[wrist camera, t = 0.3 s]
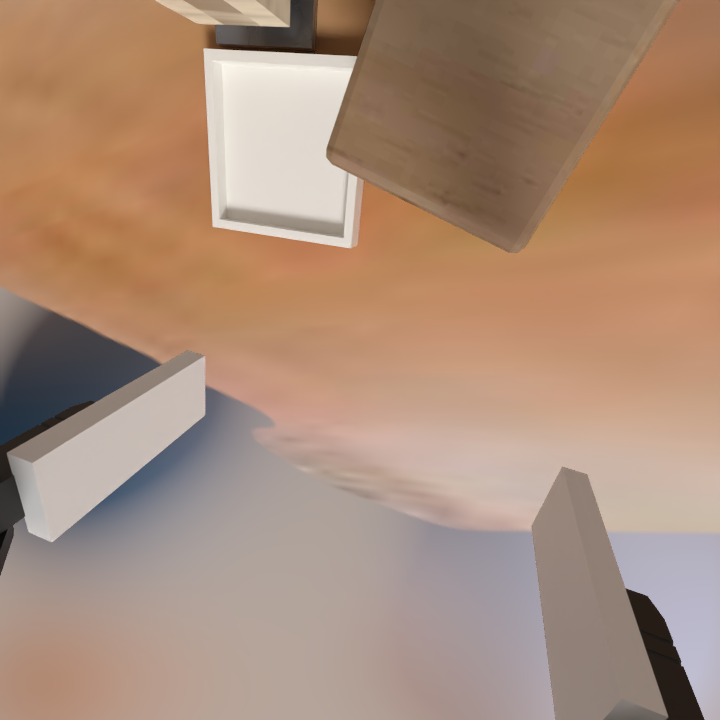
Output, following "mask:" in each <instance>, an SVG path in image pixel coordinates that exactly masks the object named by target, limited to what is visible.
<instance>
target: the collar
mask: <svg viewBox="0 0 720 720" xmlns="http://www.w3.org/2000/svg"><path fill="white" fill-rule="evenodd" d="M155 1H157V2H159V3H160V4H162V5H164V6H166V7H168V8H170V9H171V10H173V11H175V12H177V13H179V14H180V15H182V16H184V17H186V18H188V19H190V20H191V21H193V22H195V23H197V24H217V25H244V26H272V27H290V0H155Z"/></svg>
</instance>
